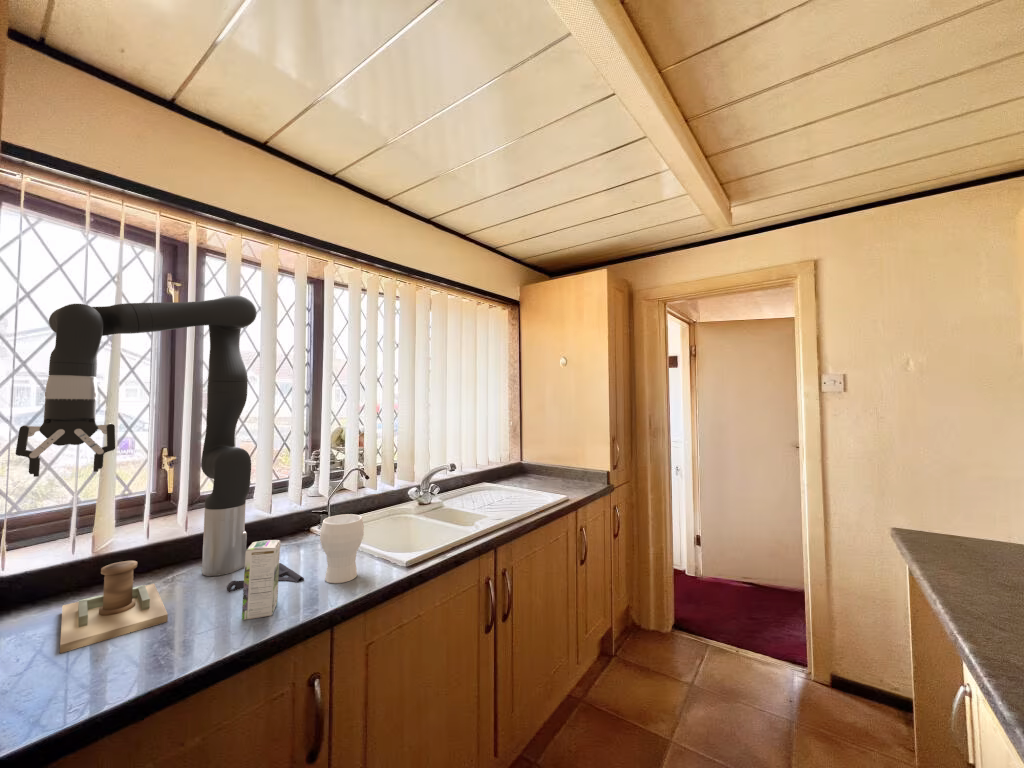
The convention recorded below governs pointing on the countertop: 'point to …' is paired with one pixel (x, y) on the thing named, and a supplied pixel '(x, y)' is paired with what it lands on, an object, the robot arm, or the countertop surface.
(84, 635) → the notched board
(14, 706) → the countertop surface
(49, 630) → the countertop surface
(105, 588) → the wooden bobbin
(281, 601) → the countertop surface
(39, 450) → the robot arm
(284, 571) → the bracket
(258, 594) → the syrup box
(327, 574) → the cup
